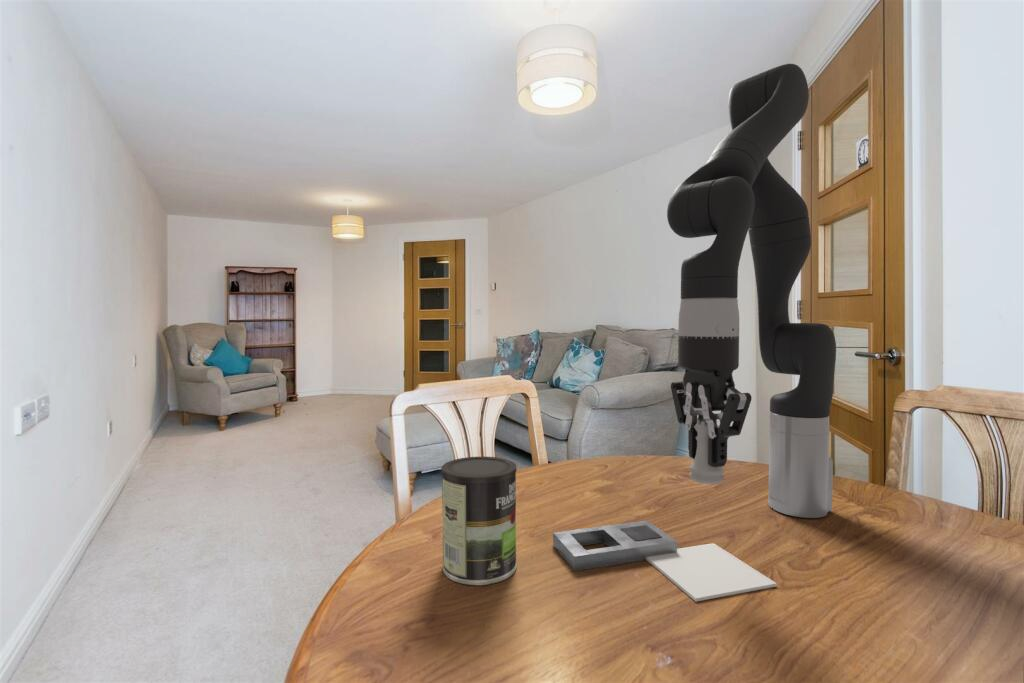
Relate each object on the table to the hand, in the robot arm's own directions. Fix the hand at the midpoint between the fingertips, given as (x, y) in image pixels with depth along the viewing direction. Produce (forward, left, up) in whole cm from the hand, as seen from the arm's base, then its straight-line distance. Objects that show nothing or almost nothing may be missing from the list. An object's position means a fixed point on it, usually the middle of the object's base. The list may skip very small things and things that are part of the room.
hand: (706, 461), depth 67 cm
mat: (0, 0, -15) cm, 15 cm away
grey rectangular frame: (+9, -9, -15) cm, 20 cm away
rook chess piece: (0, 0, -3) cm, 3 cm away
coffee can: (+29, -10, -15) cm, 34 cm away
